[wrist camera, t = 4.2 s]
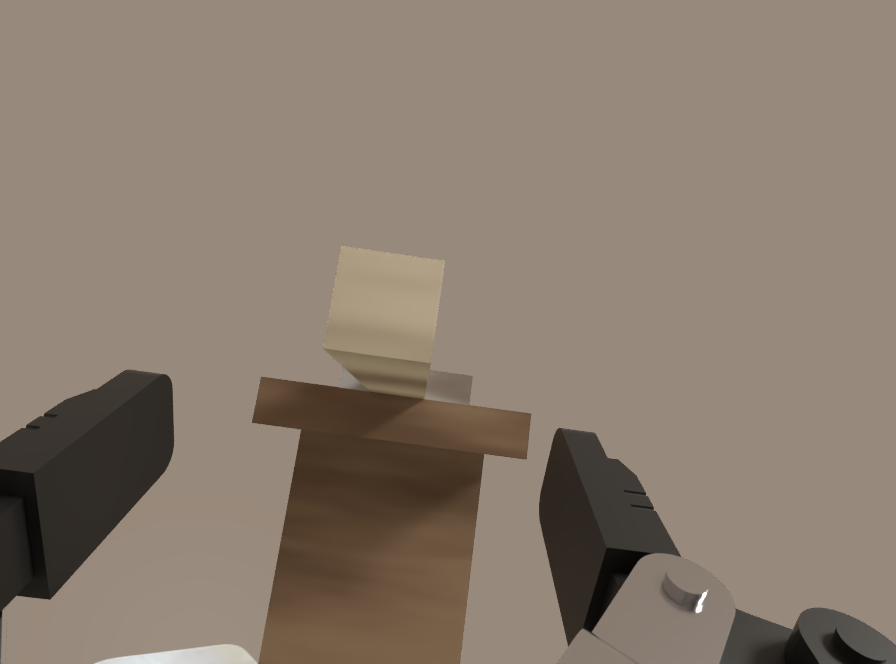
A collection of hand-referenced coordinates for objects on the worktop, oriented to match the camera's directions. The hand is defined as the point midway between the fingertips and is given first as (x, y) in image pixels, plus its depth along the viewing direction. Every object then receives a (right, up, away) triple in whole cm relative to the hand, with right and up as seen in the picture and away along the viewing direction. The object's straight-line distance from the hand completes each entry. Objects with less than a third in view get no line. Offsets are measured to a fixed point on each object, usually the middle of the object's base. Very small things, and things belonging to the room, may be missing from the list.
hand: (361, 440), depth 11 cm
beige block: (0, -1, +12) cm, 12 cm away
